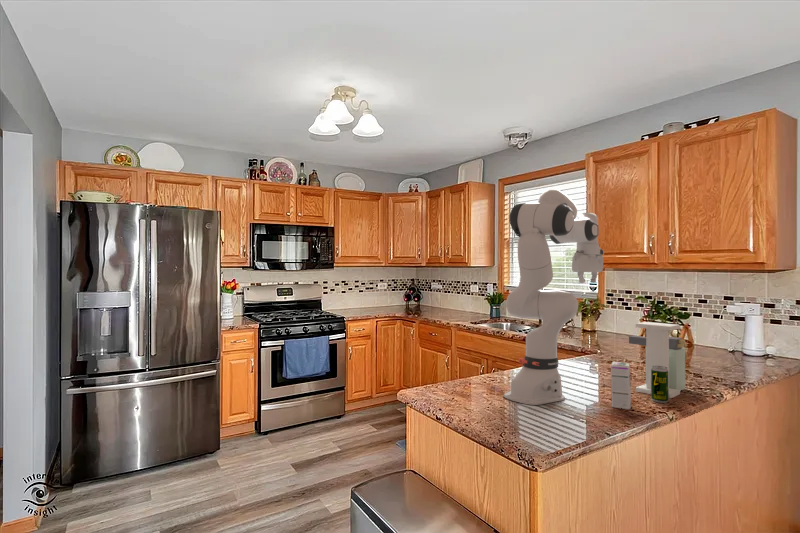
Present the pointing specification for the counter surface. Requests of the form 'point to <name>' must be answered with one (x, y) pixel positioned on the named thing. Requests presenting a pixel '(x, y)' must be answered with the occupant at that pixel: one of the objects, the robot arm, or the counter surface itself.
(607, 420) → the counter surface
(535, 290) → the robot arm
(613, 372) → the syrup box
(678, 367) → the socket block
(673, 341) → the grey boxy piece
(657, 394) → the beer can
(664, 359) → the tall shelf
